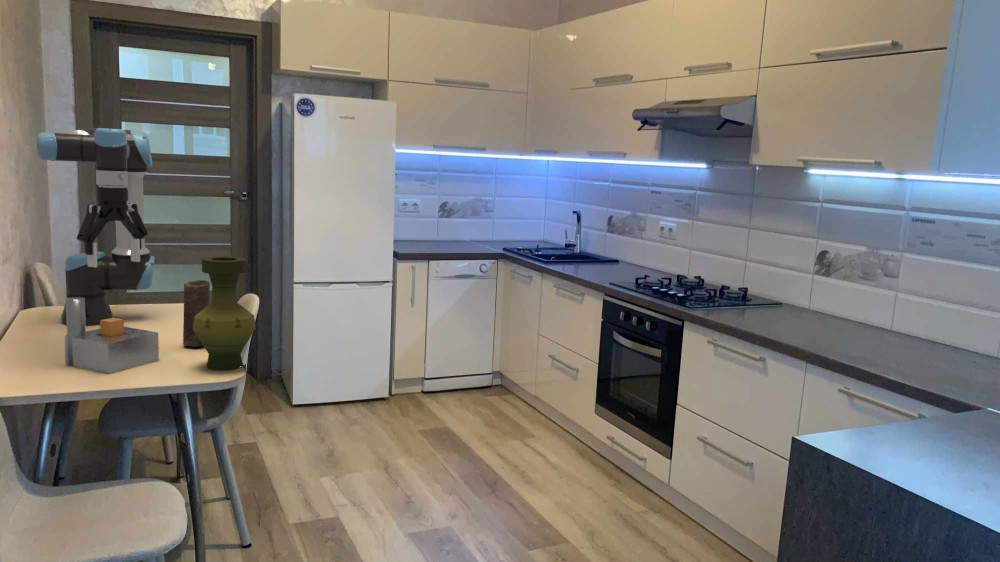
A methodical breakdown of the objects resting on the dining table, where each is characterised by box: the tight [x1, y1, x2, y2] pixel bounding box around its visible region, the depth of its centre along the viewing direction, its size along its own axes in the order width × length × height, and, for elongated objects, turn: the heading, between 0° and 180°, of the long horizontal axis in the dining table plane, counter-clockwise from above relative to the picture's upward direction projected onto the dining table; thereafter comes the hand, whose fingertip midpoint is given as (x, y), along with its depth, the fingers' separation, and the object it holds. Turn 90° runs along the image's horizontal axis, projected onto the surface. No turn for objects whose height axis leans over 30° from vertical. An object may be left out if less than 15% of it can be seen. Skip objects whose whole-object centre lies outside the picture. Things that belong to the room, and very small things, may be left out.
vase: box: [193, 255, 257, 372], centre depth 197 cm, size 16×16×30 cm
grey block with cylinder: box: [63, 297, 160, 375], centre depth 195 cm, size 16×16×18 cm
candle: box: [182, 279, 211, 348], centre depth 216 cm, size 8×7×20 cm
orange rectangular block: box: [99, 317, 125, 338], centre depth 196 cm, size 4×4×12 cm
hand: (114, 264), depth 197 cm, fingers open, 13 cm apart
